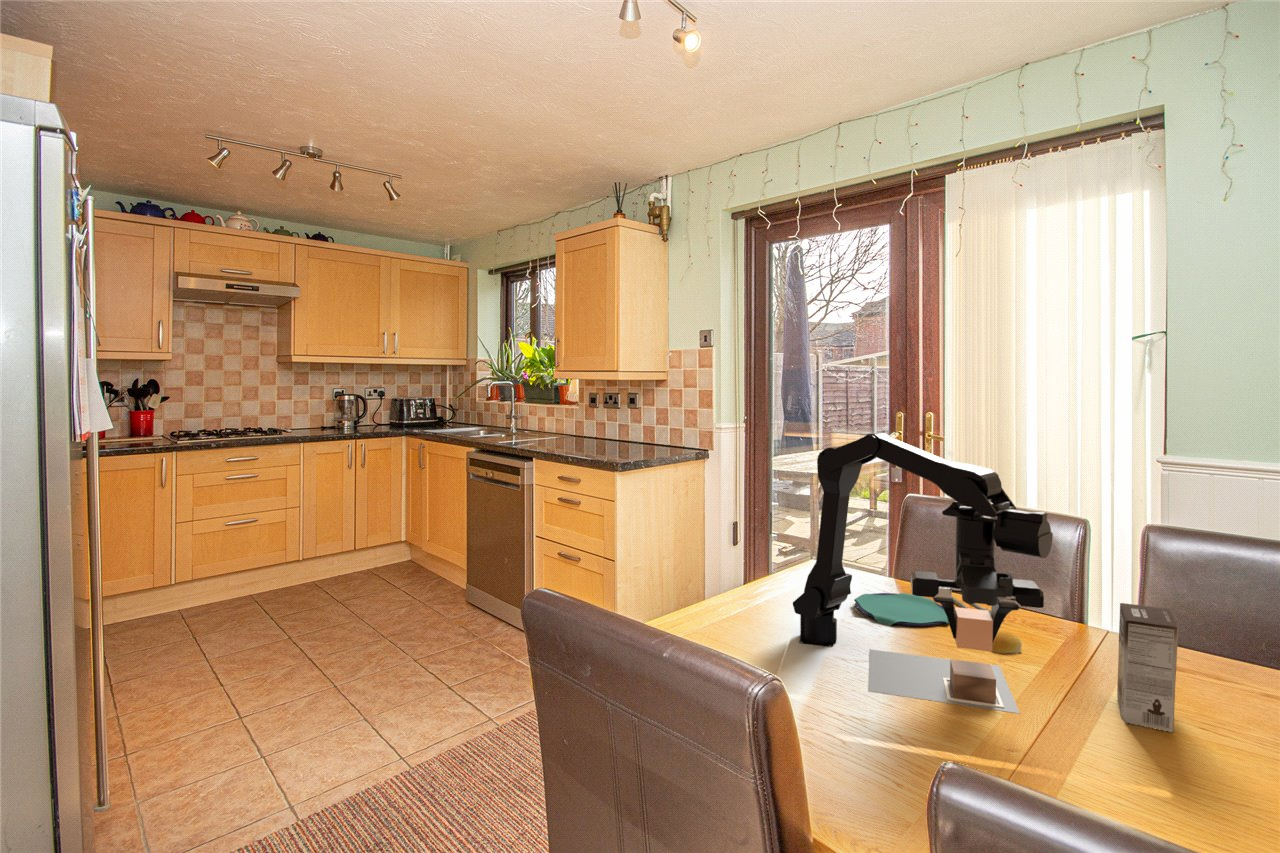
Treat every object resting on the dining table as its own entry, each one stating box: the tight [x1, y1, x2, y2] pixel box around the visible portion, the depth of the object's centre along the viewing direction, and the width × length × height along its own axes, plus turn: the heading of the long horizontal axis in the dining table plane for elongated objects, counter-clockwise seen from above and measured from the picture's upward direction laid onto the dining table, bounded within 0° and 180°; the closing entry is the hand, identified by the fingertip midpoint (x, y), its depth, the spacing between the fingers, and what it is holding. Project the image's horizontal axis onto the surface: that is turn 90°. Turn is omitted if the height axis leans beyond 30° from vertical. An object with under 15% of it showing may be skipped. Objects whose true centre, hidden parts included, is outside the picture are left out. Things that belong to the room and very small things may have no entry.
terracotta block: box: [954, 606, 993, 653], centre depth 105 cm, size 5×5×5 cm
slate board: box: [867, 649, 1021, 714], centre depth 111 cm, size 22×18×1 cm
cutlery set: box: [854, 592, 1005, 627], centre depth 144 cm, size 20×30×2 cm, turn 93°
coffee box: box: [1116, 602, 1179, 733], centre depth 98 cm, size 9×6×16 cm
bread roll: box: [992, 629, 1023, 654], centre depth 125 cm, size 8×9×4 cm
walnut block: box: [949, 658, 996, 704], centre depth 105 cm, size 6×6×4 cm
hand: (972, 639), depth 105 cm, fingers closed on terracotta block, 5 cm apart
